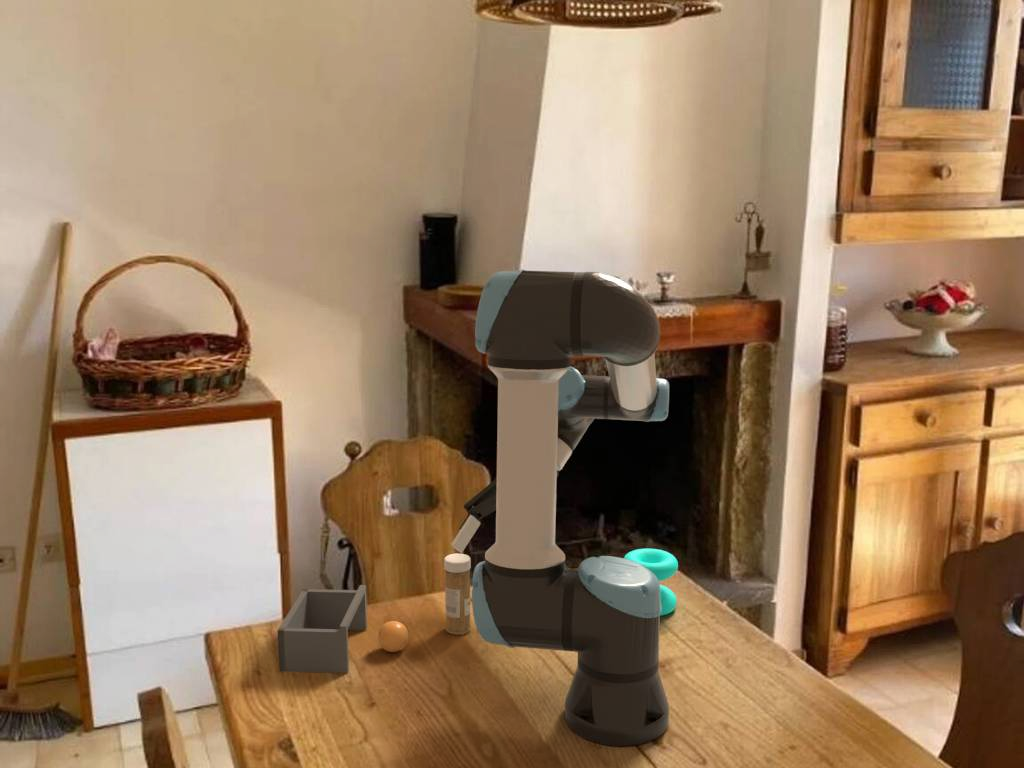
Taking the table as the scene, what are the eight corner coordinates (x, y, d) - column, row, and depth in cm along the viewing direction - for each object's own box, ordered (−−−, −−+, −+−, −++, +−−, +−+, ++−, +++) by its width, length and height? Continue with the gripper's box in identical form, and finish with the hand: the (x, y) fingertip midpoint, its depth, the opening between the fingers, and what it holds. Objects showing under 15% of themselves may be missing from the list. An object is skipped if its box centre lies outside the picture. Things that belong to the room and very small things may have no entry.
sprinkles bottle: (476, 631, 171) (475, 558, 168) (453, 638, 168) (452, 564, 165) (462, 622, 174) (462, 550, 172) (440, 628, 172) (439, 555, 169)
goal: (347, 673, 156) (346, 626, 155) (279, 671, 157) (277, 624, 155) (367, 627, 172) (365, 585, 170) (304, 626, 173) (303, 583, 171)
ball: (406, 657, 161) (405, 629, 160) (375, 657, 162) (375, 628, 161) (410, 643, 166) (410, 616, 165) (381, 642, 167) (380, 615, 166)
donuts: (655, 571, 171) (611, 556, 178) (653, 624, 174) (610, 607, 181) (689, 556, 178) (645, 542, 185) (687, 607, 180) (644, 591, 187)
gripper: (602, 488, 173) (539, 591, 167) (508, 458, 191) (448, 550, 185) (581, 465, 169) (516, 570, 162) (487, 436, 187) (425, 530, 180)
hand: (480, 559), depth 173 cm, fingers open, 13 cm apart
